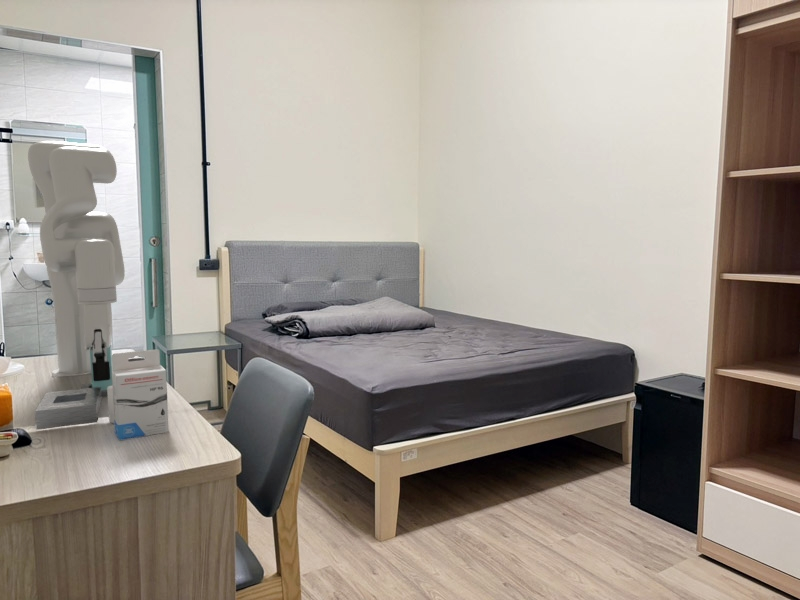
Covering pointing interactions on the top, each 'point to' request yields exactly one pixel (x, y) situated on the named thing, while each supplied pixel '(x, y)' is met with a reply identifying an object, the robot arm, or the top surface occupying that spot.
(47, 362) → the top surface
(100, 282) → the robot arm
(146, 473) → the top surface
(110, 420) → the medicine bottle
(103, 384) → the plug
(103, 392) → the grey square socket
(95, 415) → the port
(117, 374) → the ink box
